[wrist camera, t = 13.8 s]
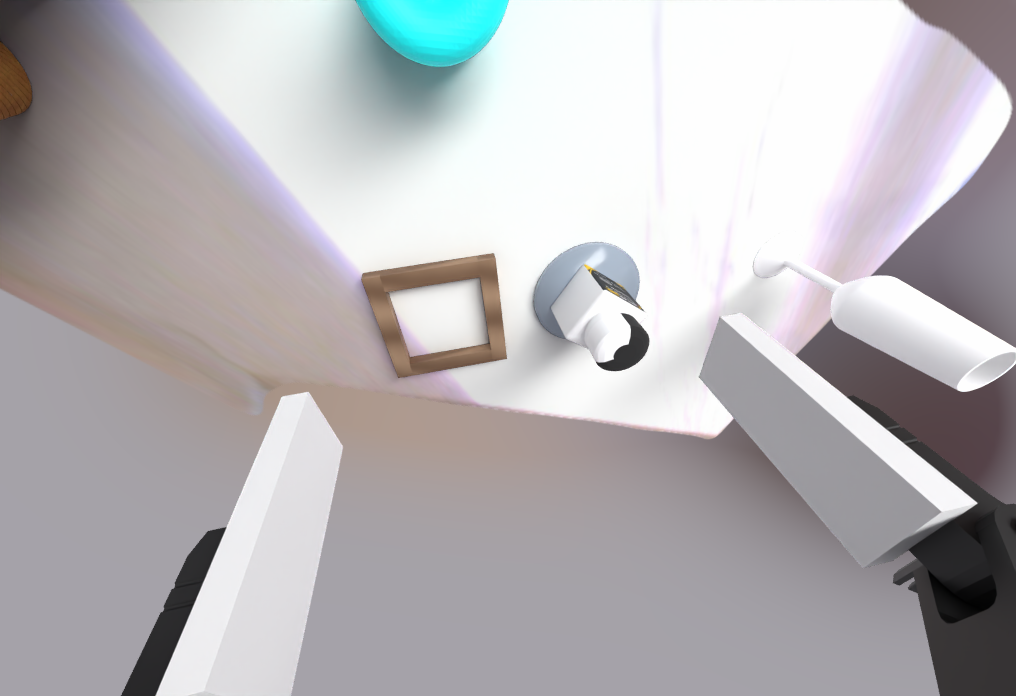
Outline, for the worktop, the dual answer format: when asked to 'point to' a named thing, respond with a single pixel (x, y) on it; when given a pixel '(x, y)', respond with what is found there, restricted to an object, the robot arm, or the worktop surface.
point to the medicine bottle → (602, 319)
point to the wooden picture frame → (432, 274)
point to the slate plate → (566, 266)
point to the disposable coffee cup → (12, 85)
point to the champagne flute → (900, 321)
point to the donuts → (435, 27)
